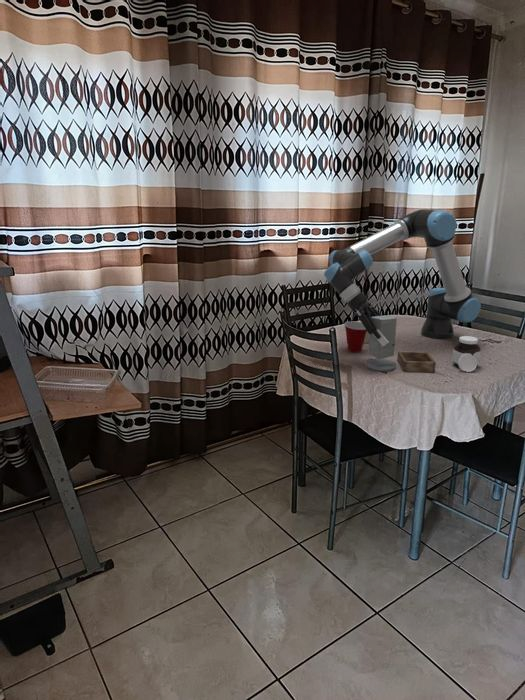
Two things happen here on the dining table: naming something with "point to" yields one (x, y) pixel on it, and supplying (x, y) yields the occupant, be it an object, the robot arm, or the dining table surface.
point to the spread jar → (466, 353)
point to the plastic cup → (355, 335)
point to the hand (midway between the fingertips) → (389, 340)
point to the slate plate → (380, 364)
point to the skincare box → (389, 331)
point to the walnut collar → (416, 362)
